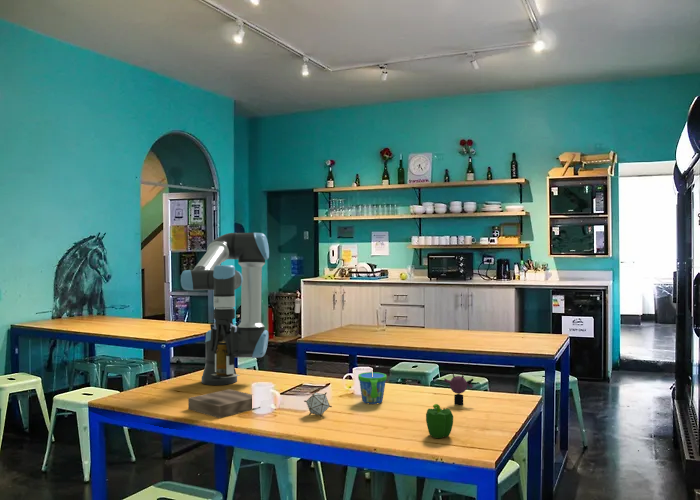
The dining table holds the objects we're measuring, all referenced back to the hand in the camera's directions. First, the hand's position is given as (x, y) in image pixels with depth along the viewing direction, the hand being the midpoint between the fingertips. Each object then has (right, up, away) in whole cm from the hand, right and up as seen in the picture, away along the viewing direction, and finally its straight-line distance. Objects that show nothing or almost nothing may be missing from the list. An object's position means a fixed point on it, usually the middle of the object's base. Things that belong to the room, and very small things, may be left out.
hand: (224, 372), depth 212 cm
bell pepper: (+72, -12, -33) cm, 80 cm away
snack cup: (+53, -13, +8) cm, 55 cm away
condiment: (+1, -1, -1) cm, 1 cm away
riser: (0, -13, 0) cm, 13 cm away
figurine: (+85, -13, +5) cm, 86 cm away
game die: (+34, -13, -10) cm, 38 cm away
